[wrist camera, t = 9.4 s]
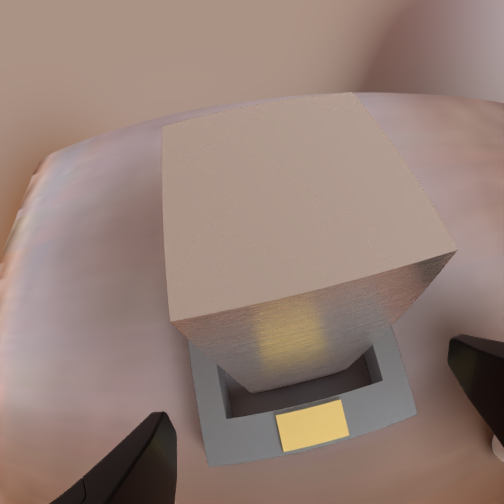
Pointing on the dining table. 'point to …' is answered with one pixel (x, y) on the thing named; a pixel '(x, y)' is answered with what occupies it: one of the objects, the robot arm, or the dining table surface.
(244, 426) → the plate
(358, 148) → the rectangular block post
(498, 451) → the light bulb
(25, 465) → the dining table surface
